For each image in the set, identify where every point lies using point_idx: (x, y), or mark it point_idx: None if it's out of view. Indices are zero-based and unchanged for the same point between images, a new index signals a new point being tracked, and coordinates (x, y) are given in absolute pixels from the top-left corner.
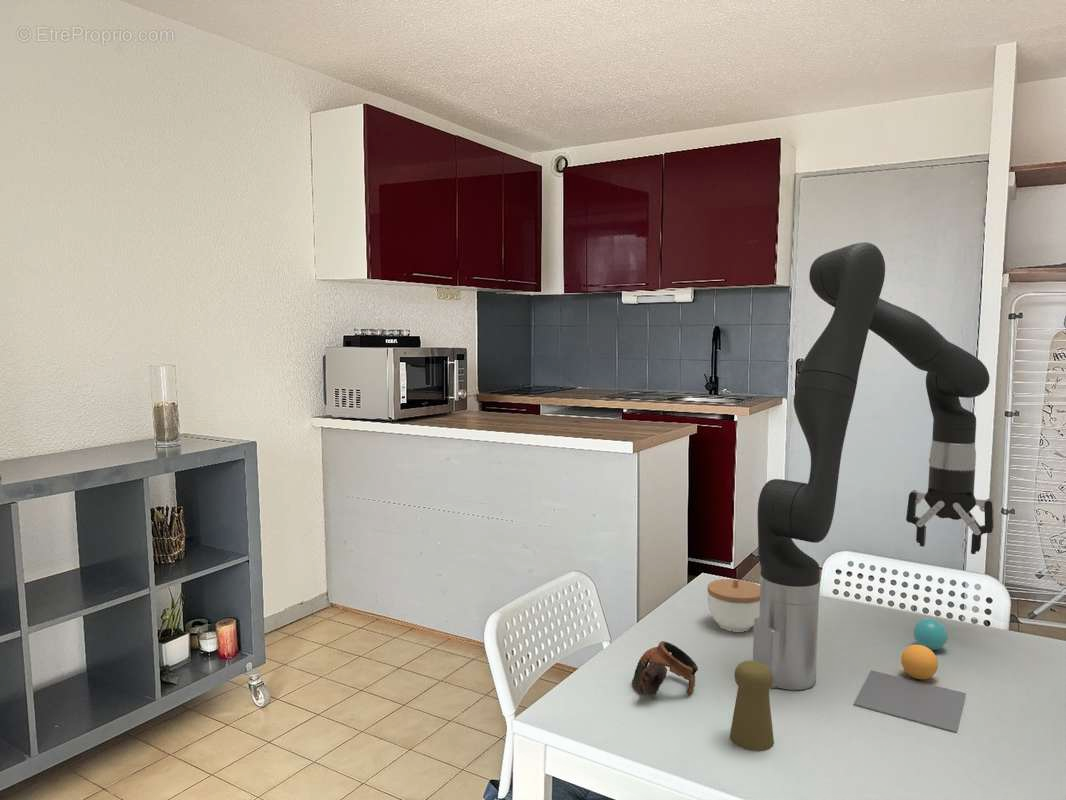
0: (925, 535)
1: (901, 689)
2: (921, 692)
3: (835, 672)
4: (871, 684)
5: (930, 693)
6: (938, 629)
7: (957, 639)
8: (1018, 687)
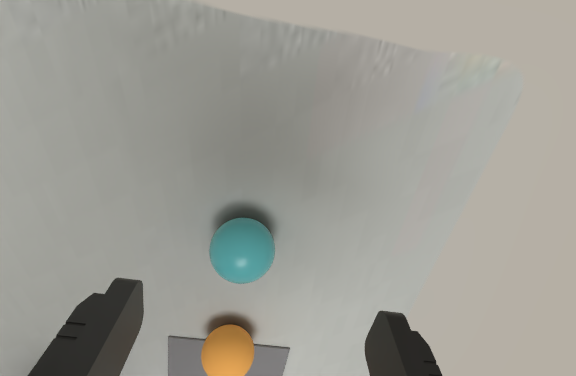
0: (115, 333)
1: None
2: None
3: None
4: (177, 368)
5: None
6: (254, 280)
7: (301, 160)
8: (363, 308)
